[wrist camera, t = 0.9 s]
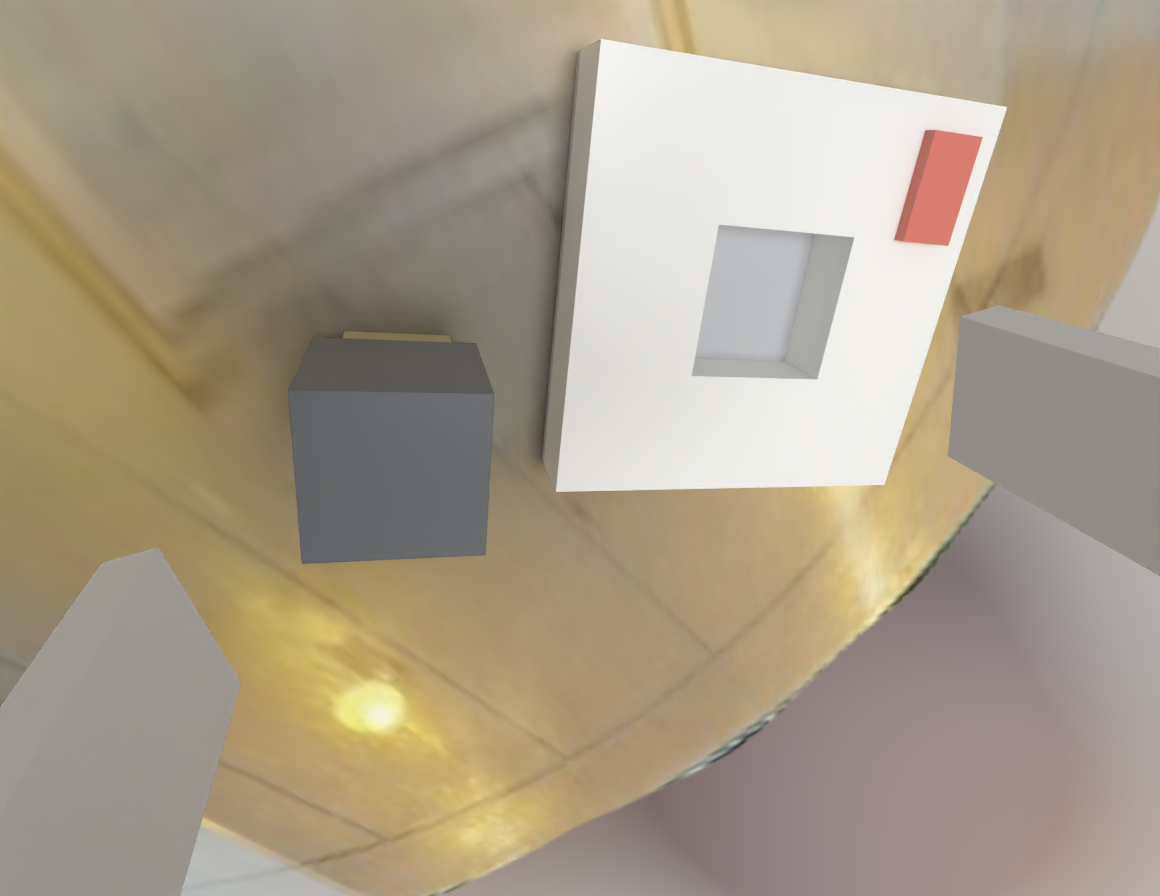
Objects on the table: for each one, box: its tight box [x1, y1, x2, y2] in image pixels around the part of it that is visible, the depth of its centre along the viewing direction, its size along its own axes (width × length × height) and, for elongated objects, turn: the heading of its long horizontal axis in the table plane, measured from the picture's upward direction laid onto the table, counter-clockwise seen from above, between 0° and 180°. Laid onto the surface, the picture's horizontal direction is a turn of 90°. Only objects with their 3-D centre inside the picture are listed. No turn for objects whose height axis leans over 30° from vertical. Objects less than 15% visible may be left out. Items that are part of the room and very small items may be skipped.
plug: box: [288, 331, 494, 564], centre depth 25 cm, size 6×6×10 cm
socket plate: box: [542, 39, 1007, 492], centre depth 30 cm, size 18×18×4 cm
